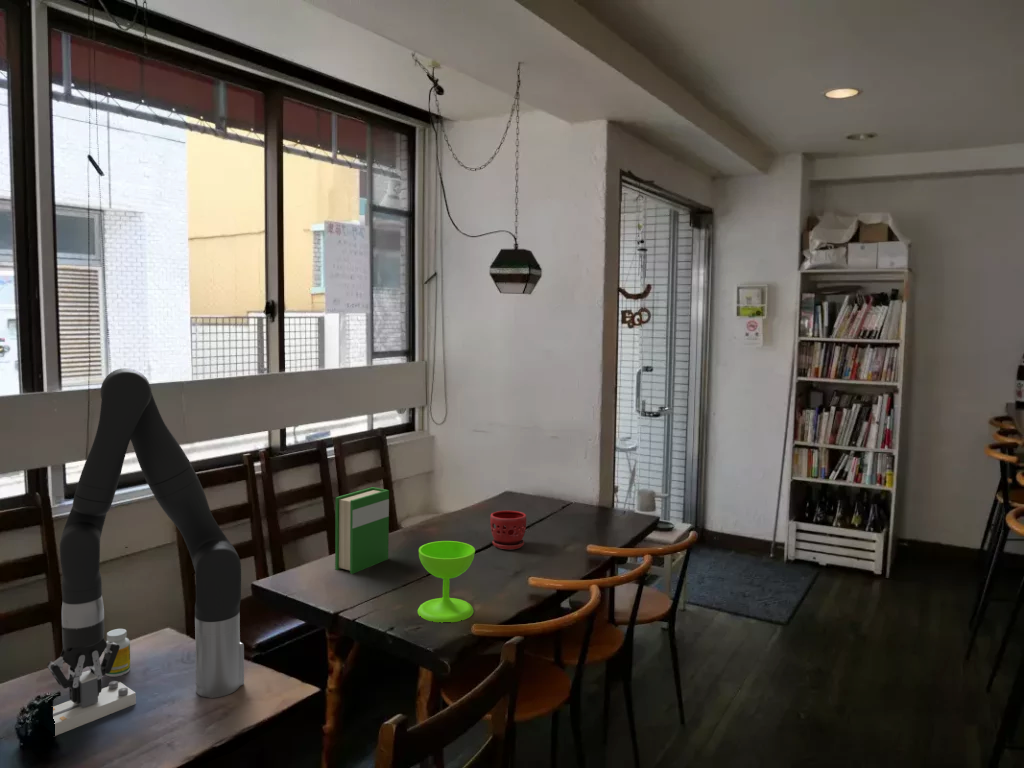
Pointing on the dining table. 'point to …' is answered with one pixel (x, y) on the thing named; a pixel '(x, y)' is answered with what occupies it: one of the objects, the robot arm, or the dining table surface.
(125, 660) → the supplement bottle
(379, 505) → the hardback book
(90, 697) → the fader tab
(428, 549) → the wineglass
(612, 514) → the dining table surface
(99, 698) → the console
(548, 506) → the dining table surface
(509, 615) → the dining table surface
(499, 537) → the plant pot
